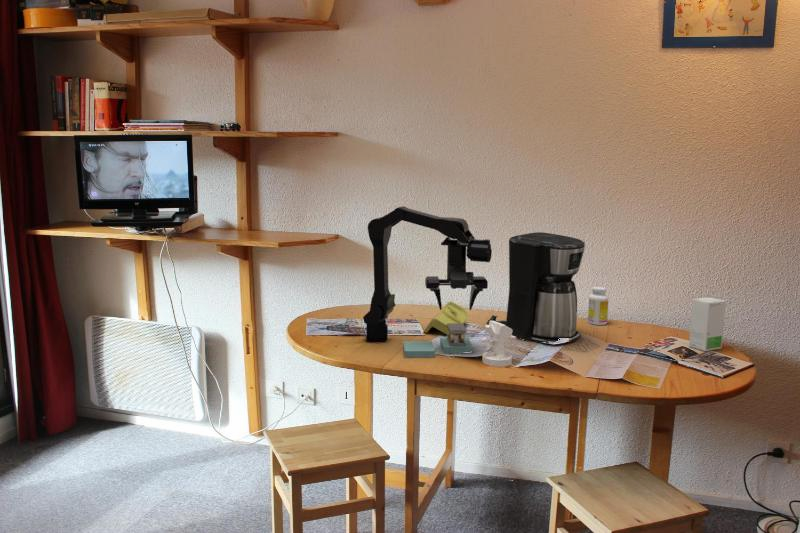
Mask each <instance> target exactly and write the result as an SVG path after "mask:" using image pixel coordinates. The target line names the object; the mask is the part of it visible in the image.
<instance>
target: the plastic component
mask: <svg viewBox="0 0 800 533" xmlns="http://www.w3.org/2000/svg"><path fill="white" fill-rule="evenodd" d="M468 317H469V313H468V311H467V310H466V309H465V308H463V307H462V305H459V304H457V303H455V302H453V301H448V302H447V303H446V305H445V306H444V307H443V308H442V309H441V310H440V312H439V313H438V314H437V316H436V317H435V318H433V319H431V321H429V323H428V324H427V326H426V327H425V329H424V330H423V333H425V334H427V333H428V332H430V330H431V329H433V328H435V329H437V330H438V331H440V332H441V333H444V334H446V336H447V335H448V328H447V323H463V325H464V324H465V322H466V321H467V318H468ZM454 335H458V333H454Z"/></svg>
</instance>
